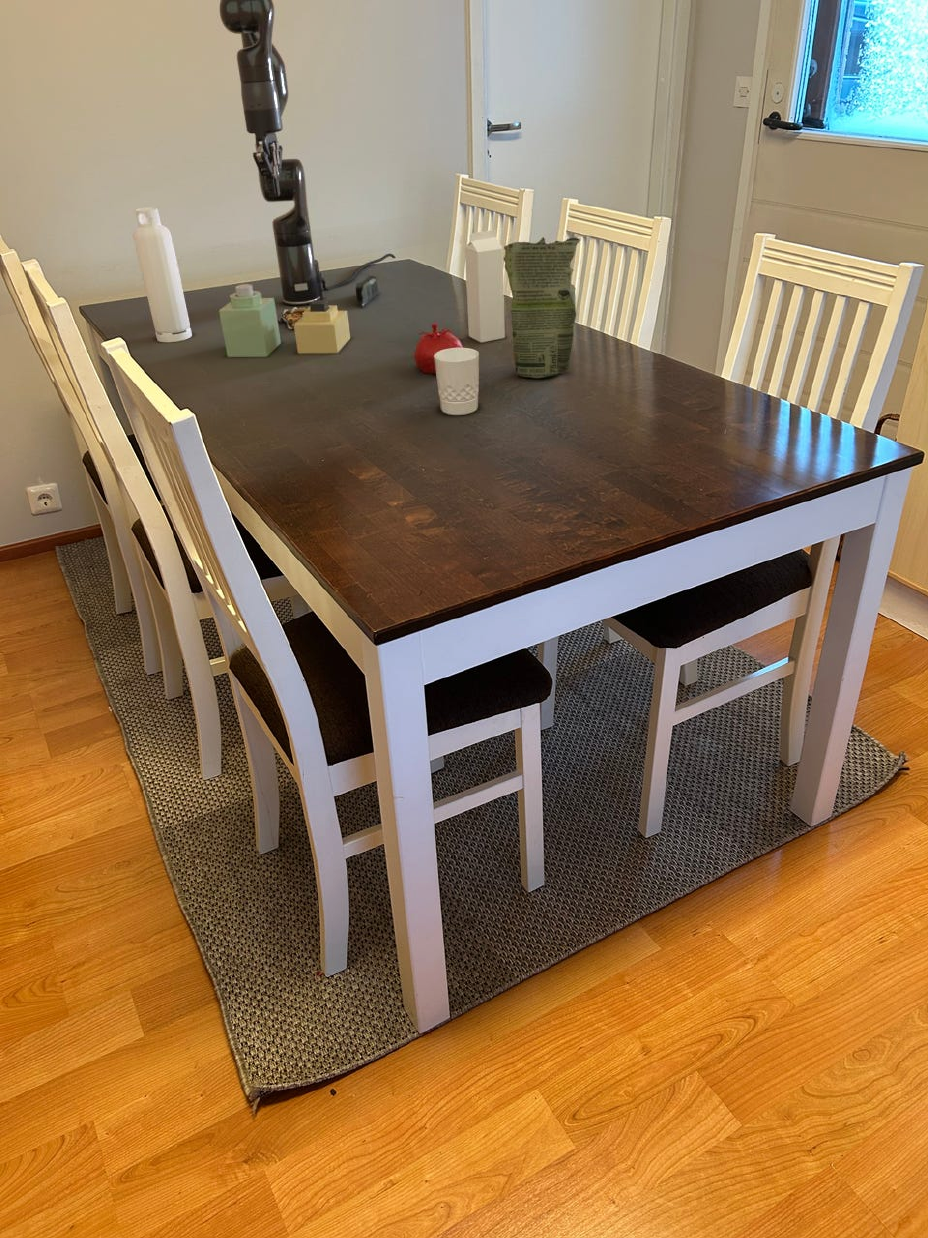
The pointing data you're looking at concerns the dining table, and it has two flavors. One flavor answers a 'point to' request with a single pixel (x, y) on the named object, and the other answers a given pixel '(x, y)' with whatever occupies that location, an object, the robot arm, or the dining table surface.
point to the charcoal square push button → (319, 306)
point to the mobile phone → (366, 290)
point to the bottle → (161, 277)
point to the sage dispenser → (250, 326)
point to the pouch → (541, 305)
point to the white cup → (457, 380)
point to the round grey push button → (244, 290)
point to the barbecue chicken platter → (292, 316)
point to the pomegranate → (433, 348)
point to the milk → (485, 287)
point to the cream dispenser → (322, 331)
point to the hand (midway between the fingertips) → (274, 196)
